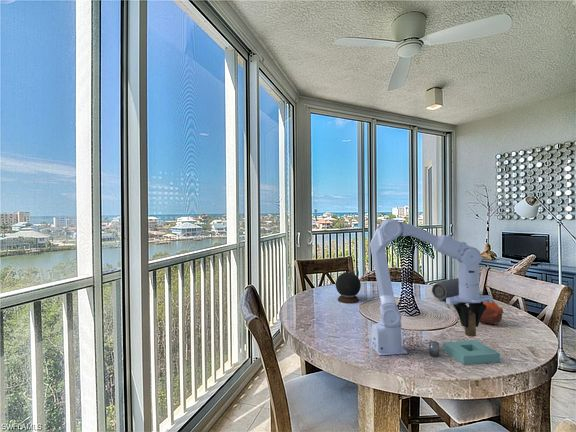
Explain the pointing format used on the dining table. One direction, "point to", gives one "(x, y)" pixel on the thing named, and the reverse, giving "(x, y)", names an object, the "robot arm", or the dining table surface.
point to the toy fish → (492, 313)
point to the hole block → (471, 352)
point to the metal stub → (434, 349)
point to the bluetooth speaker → (446, 289)
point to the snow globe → (348, 287)
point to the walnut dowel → (471, 325)
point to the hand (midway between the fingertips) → (469, 325)
